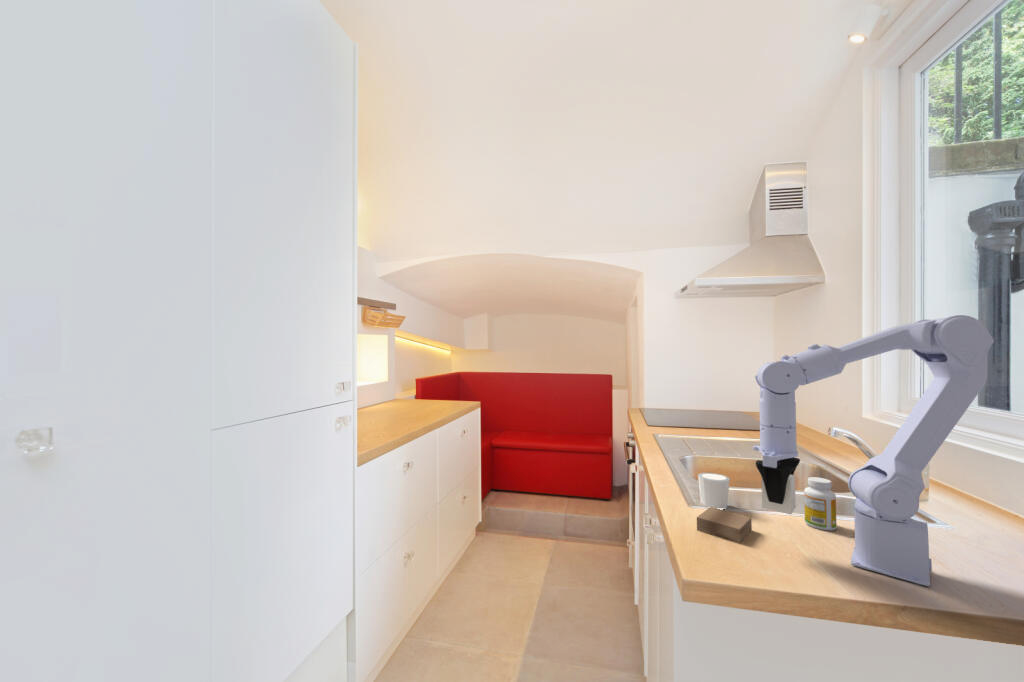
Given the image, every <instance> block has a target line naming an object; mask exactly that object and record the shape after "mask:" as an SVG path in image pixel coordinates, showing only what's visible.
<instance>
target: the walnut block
mask: <svg viewBox="0 0 1024 682" xmlns="http://www.w3.org/2000/svg"><path fill="white" fill-rule="evenodd" d="M752 524H753V523H752V517H750V516H748V515H743V514H740V513H735V512H732V511H727V510H720V509H717V508H713V507H710V508H706V510H705V511H703V512H702V513H700V514H699V515H698V516H696V531H700V532H703V533H705V532H706V534H708V533H709V535H712V536H716V537H717V538H718V537H719V538H722V539H725V540H729V541H732V542H735V543H739V544H741V542H742V541H743V540H745V538H747V536H748V535H749V534H750V533H751V532H752V531H753V530H752V529H753V527H752Z"/></svg>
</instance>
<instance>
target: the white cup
mask: <svg viewBox="0 0 1024 682" xmlns="http://www.w3.org/2000/svg"><path fill="white" fill-rule="evenodd" d="M697 479H698V486H699V487H698V488H699V490H698V491H699V497H700V498H699V499H700V504H701V503H702V504H703V505H705V506H708V507H713V508H728V500H729V492H730V491H729V489H730V477H729V476H727V475H724V474H720V473H715V472H714V473H713V472H700V473H698V474H697Z"/></svg>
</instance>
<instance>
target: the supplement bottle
mask: <svg viewBox="0 0 1024 682" xmlns="http://www.w3.org/2000/svg"><path fill="white" fill-rule="evenodd" d="M807 484H808V486H807V487H805V488H804V490H803V492H804V493H803V494H804V495H803V496H804V500H803V501H804V522H805V524H806V525H807V526H809V527H812V528H814V529H818V530H821V531H835V530H836V529H837V527H838V526H837V496H836V495H837V494H836V493H834V491H832V490H831V489H832V481H831V480H830V479H827V478H823V477H818V476H817V477H816V476H815V477H814V476H813V477H812V476H811V477H810V476H809V477H807Z"/></svg>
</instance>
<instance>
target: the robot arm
mask: <svg viewBox="0 0 1024 682" xmlns="http://www.w3.org/2000/svg"><path fill="white" fill-rule="evenodd" d="M994 342H995V340H994V338H993V336H992V335H991V334H990V332H989V330H988V329H987V327H986V326H985V325H984V323H983V322H981V321H980V320H979V319H978V318H976V317H974V316H973V317H972V316H971V315H970V316H969V315H965V314H957V315H952V316H951V315H950V316H947V317H942V318H935V319H921V320H917V321H915V322H911V323H906V324H901V325H896V326H893V327H892V326H891V327H889V328H885V329H884V330H880V331H878V332H875V333H873V334H870V335H867V336H864V337H862V338H860V339H857V340H854V341H851V342H849V343H846V344H843V345H841V346H838V347H834V346H830V345H829V344H822V345H821V344H820V345H819V344H818V343H814V344H811V345H808V346H807V350H804V351H801V352H798V353H795V354H792V355H787V354H784V355H782V356H780V360H777V361H769V362H766V363H764V364H762V365H761V366H760V368H758V370H757V373H756V375H755V376H754V379H755V381H756V383H757V385H758V386H759V397H760V399H759V405H758V406H759V445H757V444H756V445H753V446H752V450H753V451H757V452H759V453H760V454H761V456H762V459H761V460H760V459H757V460H756V461H755V467H756V468H757V470H758V472H759V474H760V476H761V479H762V478H763V481H764V485H765V489H766V493H767V497H768V500H769V502H774V503H778V504H783V501H784V497H785V491H786V485H787V481H788V478H789V476H790V475H795V472H796V469H797V467H798V465H800V462H801V459H800V458H798V456H799V452H798V450H797V408H796V407H797V405H796V404H797V403H796V390H797V389H798V388H799V387H800V386H806V385H808V384H811V383H815V382H819V381H822V380H824V379H827V378H831V377H833V376H837V375H840V374H842V372H843V371H844V368H845V367H846V365H847V364H850V363H854V362H857V361H861V360H864V359H868V358H871V357H874V356H877V355H881V354H884V353H888V352H892V351H894V350H895V351H896V350H900V351H901V350H902V351H909V350H911V351H912V352H913V353H914V354H915V355H916V356H917V357H918V358H919V359H921V360H922V361H923V362H924V363H925V364H926V365H927V366H928V369H929V370H930V371H931V373H932V375H933V377H934V378H933V380H932V381H931V382H930V383H929V385H928V387H927V389H926V390H925V391H924V392H923V394H922V395H921V397H920V398H919V399H918V401H917V402H916V404H915V405H914V406H913V408H912V410H910V412H909V414H908V415H907V417H906V418H905V420H904V421H903V423H902V424H901V425H900V427H899V428H898V429H897V431H896V433H895V434H894V436H893V437H891V440H890V441H889V443H887V446H886V447H885V448H884V450H883V451H882V452H881V453H880V454H878V455H876V456H874V457H873V456H872V457H870V458H869V459H868V460H867V461H866V462H865V464H864V465H863V466H862V467H860V468H858V469H856V470H854V471H852V472H851V474H850V475H849V476H848V479H847V486H848V489H849V492H851V494H852V495H853V496H854V497H855V503H854V505H853V509H854V510H853V511H854V547H853V551H852V554H851V555H852V556H851V558H850V565H852V566H854V567H858V568H861V569H863V570H869V571H873V572H876V573H879V574H881V575H886V576H889V577H893V578H897V579H900V580H904V581H906V582H907V581H908V582H910V583H914V584H918V585H922V586H925V587H930V585H931V582H930V571H932V570H933V569H932V568H933V566H932V563H933V562H932V558H930V551H929V550H930V547H929V544H930V543H929V542H930V541H929V529H928V527H929V526H928V523H927V522H924V521H921V520H917V519H914V518H912V517H914V516H915V515H916V514H917V512H918V511H919V508H920V498H921V497H920V496H921V495H922V492H924V490H925V488H926V486H925V482H924V478H923V475H922V473H923V471H924V470H925V468H926V467H927V465H928V464H929V463H930V461H931V460H932V459H933V457H934V456H935V455H936V452H938V450H939V448H940V447H941V446H942V445H943V443H944V442H945V440H946V439H947V438H948V436H949V435H950V433H951V432H952V430H953V429H955V428H954V427H956V425H957V424H958V423H959V421H960V419H961V418H962V417H963V415H964V414H965V413H966V411H967V410H968V408H969V407H970V406H971V405H972V403H973V402H974V401H975V399H976V398H977V396H978V395H979V393H980V392H981V390H982V389H983V388H984V386H985V385H986V383H987V380H988V359H989V358H988V357H989V356H988V352H989V349H990V348H991V347H992V345H993V343H994Z"/></svg>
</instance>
